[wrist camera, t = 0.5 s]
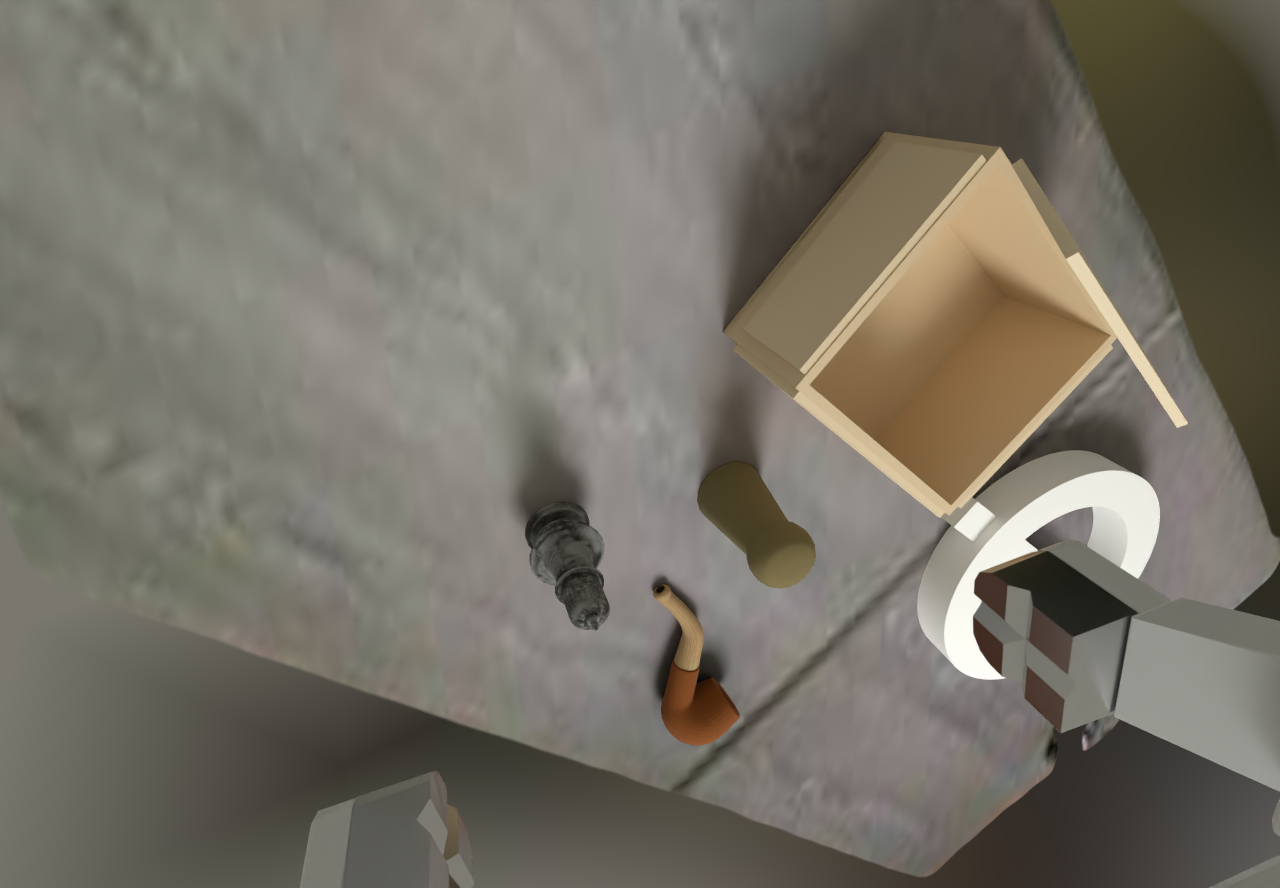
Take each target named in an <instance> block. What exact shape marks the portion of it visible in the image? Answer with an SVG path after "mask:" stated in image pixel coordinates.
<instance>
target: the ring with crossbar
mask: <svg viewBox="0 0 1280 888" xmlns="http://www.w3.org/2000/svg"><path fill="white" fill-rule="evenodd" d="M1085 507H1092V508H1093V514H1094V521H1093V529H1092V533H1091V537H1090V540H1089V542H1088V545H1087V547H1089V548H1090V549H1092V550H1093V551H1095V552H1097V553H1098V554H1100V555H1101V556H1103V557H1104V558H1106V559H1108V560H1109V561H1111V562H1112V563H1114V564H1115V565H1117V566H1118V567H1120V568H1122V569H1123V570H1125V571H1126V572H1128V573H1129V574H1131V575H1133V576H1134V577H1136V578H1137V579H1138V578H1139V576H1140V575H1141V573H1142V571H1143V569H1144V567H1145V566H1146V564H1147V562H1148V560H1149V557H1150V555H1151V553H1152V550H1153V547H1154V545H1155V541H1156V538H1157V534H1158V529H1159V522H1160V508H1159V502H1158V499H1157V496H1156V493H1155V491H1154V490H1153V488H1152V487H1151V485H1150V484H1149V483H1148V482H1147V481H1146V480H1144V479H1143V478H1142V477H1140V476H1138V475H1136V474H1134V473H1132V472H1131V471H1129V470H1127V469H1125V468H1123V467H1121V466H1119V465H1118V464H1116V463H1114V462H1112V461H1110V460H1108V459H1107V458H1105V457H1103V456H1101V455H1099V454H1096V453H1093V452H1089V451H1081V450H1070V451H1062V452H1057V453H1053V454H1049V455H1046V456H1043V457H1040V458H1037V459H1035V460H1032V461H1030V462H1028V463H1026V464H1024V465H1022V466H1020V467H1018V468H1016V469H1015V470H1013V471H1011V472H1010V473H1008V474H1006V475H1005V476H1003V477H1002V478H1000V479H999V480H998V481H996V482H995V483H993V484H992V485H991V486H990V487H988V488H987V489H986V490H985V491H983V492H982V493H981V494H980V495H979V496H978V497H977V498H976V499H974V498H971V499H970V500H969V501H968V502H967V503H966V504H965V505H964V506H963V507H962V508H959V507H957V508H956V509H955V510H954V511H953V512H952V513H951V514H950V515H947V514H946V513H944V514H943V515H942V516H941V517H942V518H943V519H944V520H945V521H947V522H948V523H949V524H950V525H951V526H950V527H949V528H948V530H947V531H946V533H945V534H944V535H943V537H942V538H941V540H940V542H939V543H938V545H937V546H936V548H935V550H934V552H933V554H932V556H931V558H930V560H929V562H928V564H927V566H926V569H925V571H924V574H923V577H922V580H921V584H920V588H919V593H918V602H917V609H918V617H919V622H920V625H921V628H922V630H923V632H924V633H925V635H926V636H927V638H928V639H929V640H930V641H931V642H932V643H933V644H934V645H935V646H936V647H937V648H938V649H939V650H940V651H941V652H942V653H943V654H944V655H945V656H946V657H947V658H948V660H949V661H950V662H951V663H952V664H953V665H954V666H955V667H956V668H957V669H958V670H960V671H961V672H963V673H964V674H966V675H968V676H971V677H974V678H979V679H1003V678H1005V677H1002V676H1001V675H1000V674H999V673H998V672H997V671H996V670H995V669H994V668H993V667H992V666H991V665H990V664H989V663H988V661H987V660H986V659H985V657H984V656H983V654H982V653H981V651H980V650H979V647H978V644H977V642H976V639H975V637H974V634H973V615H974V614H975V612H976V610H977V609H978V607H979V606H980V604H981V600H980V599H979V598H978V597H977V596H976V595H975V594H974V581H975V579H976V577H977V575H978V574H979V572H981V571H983V570H986V569H989V568H991V567H994V566H997V565H999V564H1002V563H1004V562H1007V561H1010V560H1012V559H1015V558H1018V557H1020V556H1023V555H1026V554H1028V553H1031V552H1035V551H1038V550H1037V549H1036V548H1035V547H1033V546H1032V545H1031V544H1030V543H1028V542H1027V541H1026V540H1025V539H1026V538H1027V537H1029V536H1030V535H1031V534H1032V533H1034V532H1035V531H1036V530H1038V529H1039V528H1040V527H1042V526H1043V525H1045V524H1047V523H1048V522H1050V521H1052V520H1053V519H1055V518H1057V517H1059V516H1061V515H1063V514H1066V513H1068V512H1071V511H1074V510H1077V509H1081V508H1085Z"/></svg>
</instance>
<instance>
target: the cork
mask: <svg viewBox="0 0 1280 888" xmlns="http://www.w3.org/2000/svg"><path fill="white" fill-rule="evenodd" d="M698 505H699V509H700V510H701V512H702V513H703V514H704V516H705V517H706V518H708V519H709V520H710V521H711V522H712V523H713V524H714V525H715V526H716V527H717V528H718V529H719V530H720V531H721V532H722V533H724V534H725V535H726V536H727V537H728V538H729V539H730V540H731V541H732V542H733V543H734V544H735V545H736V546H737V547H739V548H740V549H741V550H742V551H743V552H744V553H745V554H746V555H747V561H748V565H749V568H750V570H751V571H752V573H753V574H754V576H755V577H756V578H757V580H759V581H760V582H761V583H763V584H765V585H767V586H769V587H773V588H786V587H790V586H792V585H795V584H797V583H798V582H800V581H801V580H802V579H804V578H805V577H806V575H807V574H808V573H809V572H810V571H811V569H812V567H813V565H814V562H815V557H816V552H815V545H814V543H813V540H812V539H811V537H810V535H809V534H808V533H807V532H806V531H805V530H804V529H803V528H801V527H800V526H798V525H797V524H795V523H793V522H788V520H787V518H786V517H785V515H784V514H783V512H782V510H781V509H780V507H779V506H778V504H777V502H776V501H775V499H774V498H773V496H772V494H771V493H770V491H769V490H768V488H767V486H766V485H765V483H764V482H763V480H762V478H761V477H760V475H759V474H758V472H757V471H756V469H755V468H754V467H752V466H751V465H749V464H748V463H743V462H731V463H727V464H725V465H722V466H720V467H718V468H717V469H715V470H714V471H712V472H711V473H710V474H709V475H708V476H707V478H706V479H705V480H704V481H703V483H702V485H701V487H700V489H699V492H698Z"/></svg>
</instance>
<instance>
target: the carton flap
mask: <svg viewBox="0 0 1280 888" xmlns="http://www.w3.org/2000/svg"><path fill="white" fill-rule="evenodd" d="M1012 167H1013V169H1014V170H1015V172H1016V174H1017V175H1018V177H1019V179H1020V181H1021V182H1022V184H1023V186H1024V188H1025V189H1026V191H1027V193H1028V195H1029V196H1030V198H1031V200H1032V201H1033V203H1034V205H1035V207H1036V208H1037V210H1038V212H1039V214H1040V215H1041V217H1042V219H1043V220H1044V222H1045V224H1046V226H1047V227H1048V229H1049V231H1050V233H1051V234H1052V236H1053V238H1054V240H1055V241H1056V243H1057V245H1058V246H1059V248H1060V250H1061V252H1062V253H1063V255H1064V257H1065V259H1066V260H1067V262H1068V263H1069V265H1070V266H1071V268H1072V269H1073V271H1074V272H1075V274H1076V275H1077V277H1078V278H1079V280H1080V281H1081V283H1082V284H1083V286H1084V287H1085V289H1086V290H1087V292H1088V293H1089V295H1090V297H1091V298H1092V300H1093V301H1094V303H1095V304H1096V306H1097V307H1098V309H1099V310H1100V312H1101V313H1102V315H1103V316H1104V318H1105V319H1106V321H1107V322H1108V324H1109V325H1110V327H1111V328H1112V330H1113V331H1114V333H1115V334H1116V336H1117V337H1118V339H1119V340H1120V342H1121V343H1122V345H1123V346H1124V348H1125V350H1126V351H1127V353H1128V354H1129V356H1130V357H1131V359H1132V360H1133V362H1134V363H1135V365H1136V366H1137V368H1138V369H1139V371H1140V372H1141V374H1142V375H1143V377H1144V378H1145V380H1146V381H1147V383H1148V384H1149V386H1150V387H1151V389H1152V390H1153V392H1154V393H1155V395H1156V396H1157V398H1158V399H1159V401H1160V403H1161V404H1162V406H1163V407H1164V409H1165V410H1166V412H1167V413H1168V415H1169V416H1170V418H1171V419H1172V421H1173V422H1174V424H1175V425H1176V427H1177V428H1178V427H1181V426H1184V425H1186V424H1188V423H1187V421H1186V419H1185V418H1184V416H1183V414H1182V413H1181V411H1180V410H1179V408H1178V406H1177V405H1176V403H1175V401H1174V400H1173V398H1172V396H1171V395H1170V393H1169V392H1168V390H1167V388H1166V387H1165V385H1164V383H1163V382H1162V380H1161V378H1160V377H1159V375H1158V374H1157V372H1156V370H1155V369H1154V367H1153V365H1152V364H1151V362H1150V360H1149V359H1148V357H1147V355H1146V354H1145V352H1144V351H1143V349H1142V347H1141V346H1140V344H1139V342H1138V341H1137V339H1136V337H1135V336H1134V334H1133V333H1132V331H1131V329H1130V328H1129V326H1128V324H1127V323H1126V321H1125V320H1124V318H1123V317H1122V315H1121V313H1120V312H1119V310H1118V309H1117V307H1116V306H1115V304H1114V302H1113V301H1112V299H1111V298H1110V296H1109V295H1108V293H1107V291H1106V290H1105V288H1104V287H1103V285H1102V284H1101V282H1100V280H1099V279H1098V277H1097V276H1096V274H1095V272H1094V271H1093V269H1092V268H1091V266H1090V265H1089V263H1088V261H1087V260H1086V258H1085V257H1084V255H1083V254H1082V252H1081V250H1080V249H1079V247H1078V246H1077V244H1076V243H1075V241H1074V239H1073V238H1072V236H1071V235H1070V233H1069V232H1068V230H1067V228H1066V227H1065V225H1064V224H1063V222H1062V220H1061V219H1060V217H1059V216H1058V214H1057V213H1056V211H1055V209H1054V208H1053V206H1052V205H1051V203H1050V202H1049V200H1048V198H1047V197H1046V195H1045V194H1044V192H1043V191H1042V189H1041V187H1040V186H1039V184H1038V183H1037V181H1036V180H1035V178H1034V176H1033V175H1032V173H1031V172H1030V170H1029V168H1028V167H1027V165H1026V164H1025V162H1024V161H1023V159H1022V158H1021V159H1020V160H1018V161H1017V162H1015V163H1014V164H1012Z"/></svg>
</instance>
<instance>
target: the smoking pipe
mask: <svg viewBox="0 0 1280 888" xmlns="http://www.w3.org/2000/svg"><path fill="white" fill-rule="evenodd" d="M660 586H664V590H663V591H662V592H657V591H656V589H657V588H656V589H655V590H654V593H653V595H654V598H655V599H656V600H658V601H659V602H660V603H661V604H663V605H664V606H665V607H666V608H667V609H668V610H669V611H670V612H671V613H672V614H673V615H674V616H675V618H676V619H677V620H678V622H679V623H680V625H681V627H682V637H681V640H680V643H679V646H678V649H677V652H676V655H675V657H674V658H673V660H672V664H671V669H670V673H669V677H668V682H667V686H666V690H665V695H664V698H663V701H662V705H661V715H662V719H663V722H664V724H665V726H666V728H667V729H668V731H669V732H670V733H671V734H672V735H673V736H674V737H675V738H676V739H678V740H679V741H681V742H683V743H686V744H690V745H704V744H708V743H711V742H713V741H715V740H716V739H718V738H719V737H720V736H722V735H723V734H724V733H725V732H726V731H727V730H728V729H729V728H730V727H731V726H732V725H733V724H734V723H735V722H736V721H737V720H738V719H739V717H740V715H739V712H738V710H737V708H736V707H735V705H734V703H733V702H732V700H731V699H730V697H729V696H728V695H727V693H726V692H725V691H724V689H723V688H722V687H721V685H720V684H719V683H718V682H717V681H716V680H715V679H714V678H713V677H710V678H708V679H706V680H703V681H701V682H698V683H697V678H698V674H699V669H700V664H699V662H700V657H701V652H702V646H703V639H704V633H703V628H702V626H701V624H700V622H699V621H698V619H697V618H696V617H695V615H694V614H693V613H692V612H691V610H690V609H689V608H688V607H687V606H686V605H685V604H684V603H683V602H682V601H681V600H680V599H679V598H678V597H677V596H676V595H675V594H673V593H672V592H671V589H670V587H669V586H668V585H665V584H662V585H660Z"/></svg>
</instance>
